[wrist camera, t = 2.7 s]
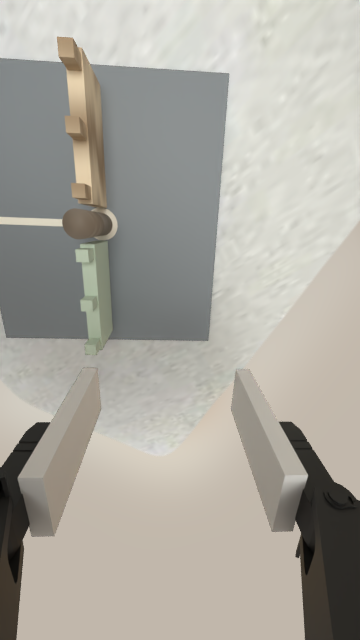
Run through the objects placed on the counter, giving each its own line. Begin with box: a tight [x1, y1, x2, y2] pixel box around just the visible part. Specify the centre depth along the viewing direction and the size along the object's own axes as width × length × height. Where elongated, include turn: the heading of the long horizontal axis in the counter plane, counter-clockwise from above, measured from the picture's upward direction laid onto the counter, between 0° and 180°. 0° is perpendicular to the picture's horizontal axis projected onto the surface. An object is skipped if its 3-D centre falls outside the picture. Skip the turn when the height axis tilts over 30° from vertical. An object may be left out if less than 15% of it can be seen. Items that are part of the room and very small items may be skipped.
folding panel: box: [75, 241, 113, 355], centre depth 26 cm, size 10×1×7 cm, turn 178°
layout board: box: [0, 58, 229, 341], centre depth 27 cm, size 24×26×1 cm
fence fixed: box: [57, 37, 113, 239], centre depth 22 cm, size 13×2×8 cm, turn 178°
